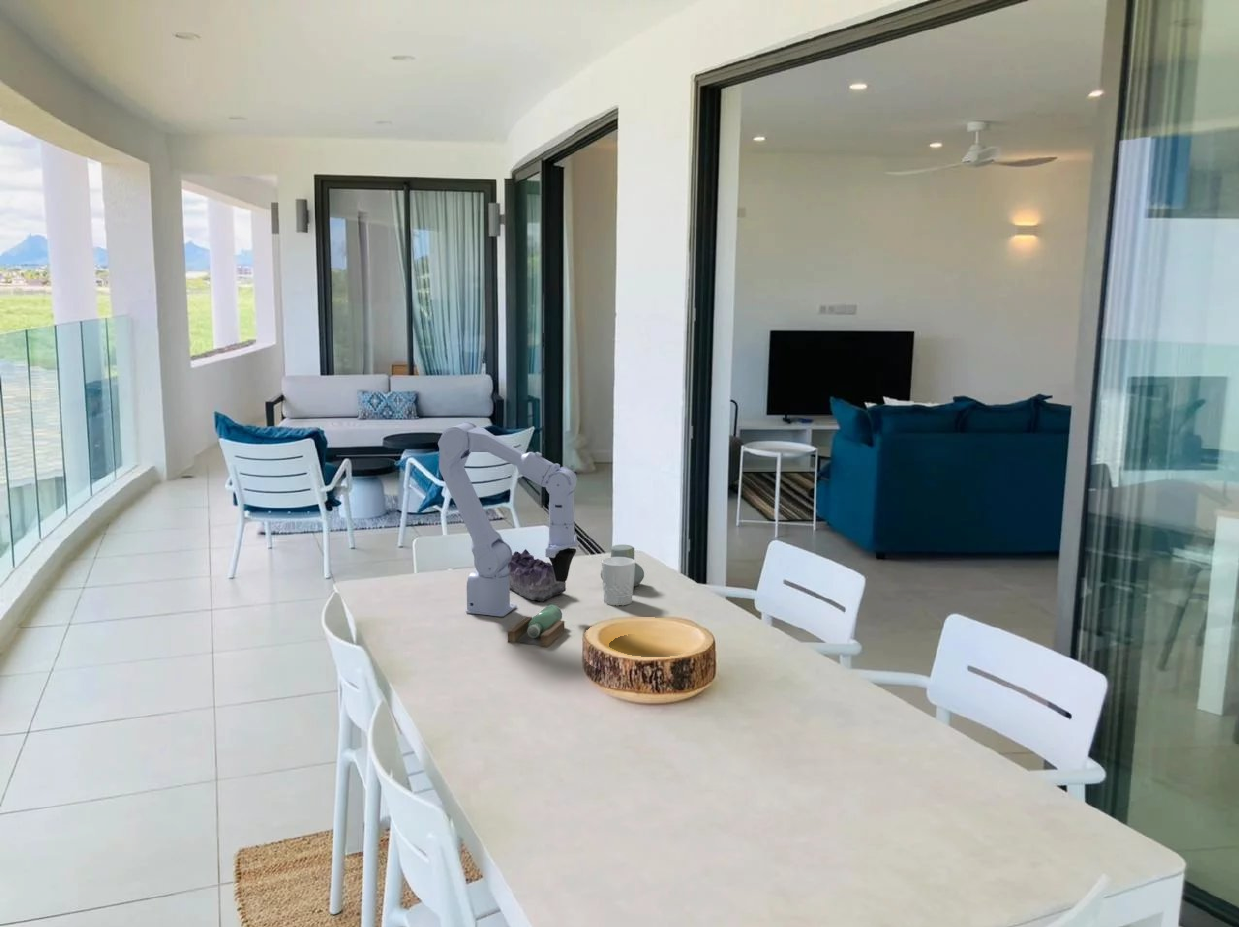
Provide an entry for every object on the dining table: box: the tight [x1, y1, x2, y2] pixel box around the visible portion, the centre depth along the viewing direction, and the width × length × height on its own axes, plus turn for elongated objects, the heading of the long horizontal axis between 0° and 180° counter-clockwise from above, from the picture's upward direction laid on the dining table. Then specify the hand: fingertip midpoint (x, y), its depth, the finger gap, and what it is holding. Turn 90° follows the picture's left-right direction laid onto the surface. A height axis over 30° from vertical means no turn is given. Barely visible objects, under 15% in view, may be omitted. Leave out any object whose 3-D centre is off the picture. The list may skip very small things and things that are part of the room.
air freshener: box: [600, 544, 645, 587], centre depth 254 cm, size 11×8×10 cm
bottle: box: [527, 604, 563, 638], centre depth 218 cm, size 4×4×12 cm
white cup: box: [601, 556, 636, 607], centre depth 240 cm, size 8×8×10 cm
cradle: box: [507, 616, 565, 648], centre depth 216 cm, size 9×10×2 cm
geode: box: [508, 548, 567, 602], centre depth 249 cm, size 20×12×10 cm, turn 38°
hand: (561, 580), depth 229 cm, fingers closed
